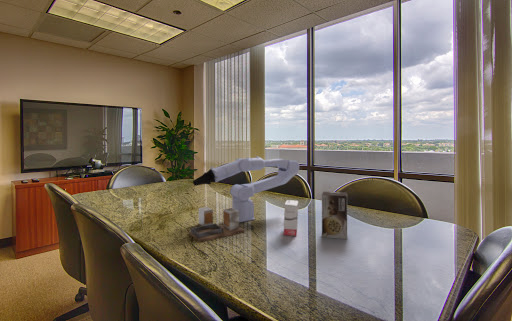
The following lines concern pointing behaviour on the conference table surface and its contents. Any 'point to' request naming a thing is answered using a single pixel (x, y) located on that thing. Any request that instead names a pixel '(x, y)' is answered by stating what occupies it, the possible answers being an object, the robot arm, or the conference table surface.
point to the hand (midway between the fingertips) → (194, 182)
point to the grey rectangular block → (205, 216)
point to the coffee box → (334, 215)
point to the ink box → (291, 217)
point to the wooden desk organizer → (219, 227)
